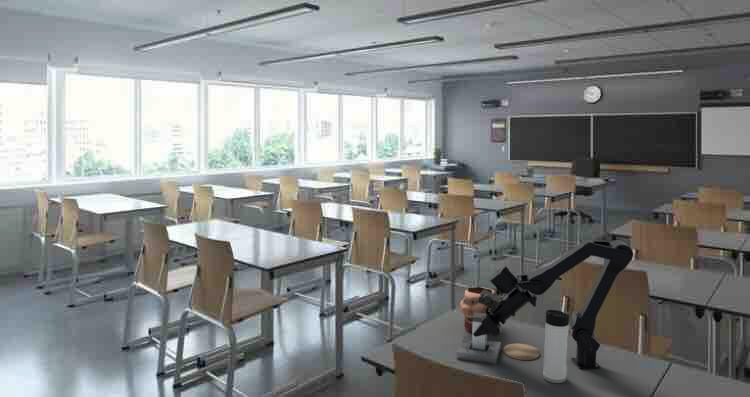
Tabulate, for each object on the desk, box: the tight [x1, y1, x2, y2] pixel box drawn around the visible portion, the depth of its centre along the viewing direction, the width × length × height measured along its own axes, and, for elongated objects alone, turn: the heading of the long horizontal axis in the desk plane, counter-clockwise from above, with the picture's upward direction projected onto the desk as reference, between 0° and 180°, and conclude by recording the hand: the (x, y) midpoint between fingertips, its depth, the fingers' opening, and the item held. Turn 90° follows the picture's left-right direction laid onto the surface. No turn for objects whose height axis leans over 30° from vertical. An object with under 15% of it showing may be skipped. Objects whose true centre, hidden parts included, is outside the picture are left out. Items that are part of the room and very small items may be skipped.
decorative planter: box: [459, 286, 498, 332], centre depth 191 cm, size 20×12×14 cm, turn 142°
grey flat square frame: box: [456, 337, 502, 365], centre depth 171 cm, size 12×12×2 cm
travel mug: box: [542, 309, 570, 384], centre depth 153 cm, size 6×7×20 cm
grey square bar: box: [471, 313, 488, 352], centre depth 170 cm, size 4×4×12 cm
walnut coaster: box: [503, 342, 541, 361], centre depth 171 cm, size 11×11×1 cm
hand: (475, 332), depth 170 cm, fingers closed on grey square bar, 4 cm apart
